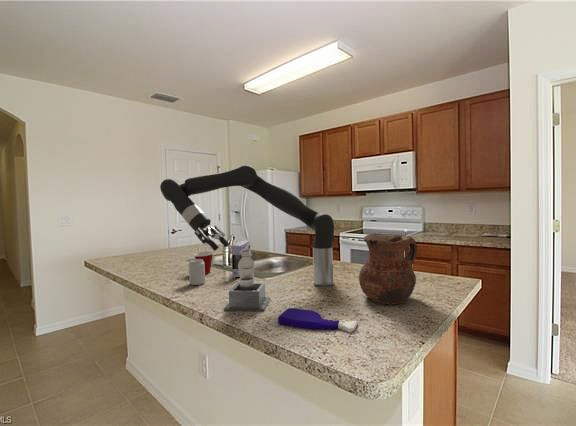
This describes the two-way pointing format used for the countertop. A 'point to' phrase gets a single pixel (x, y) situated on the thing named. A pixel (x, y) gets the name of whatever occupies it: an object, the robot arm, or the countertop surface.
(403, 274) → the jug
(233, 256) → the cake pan box
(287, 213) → the robot arm
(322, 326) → the spray bottle
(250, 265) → the plastic bottle
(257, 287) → the rack socket
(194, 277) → the can
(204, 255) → the plastic cup
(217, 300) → the countertop surface
